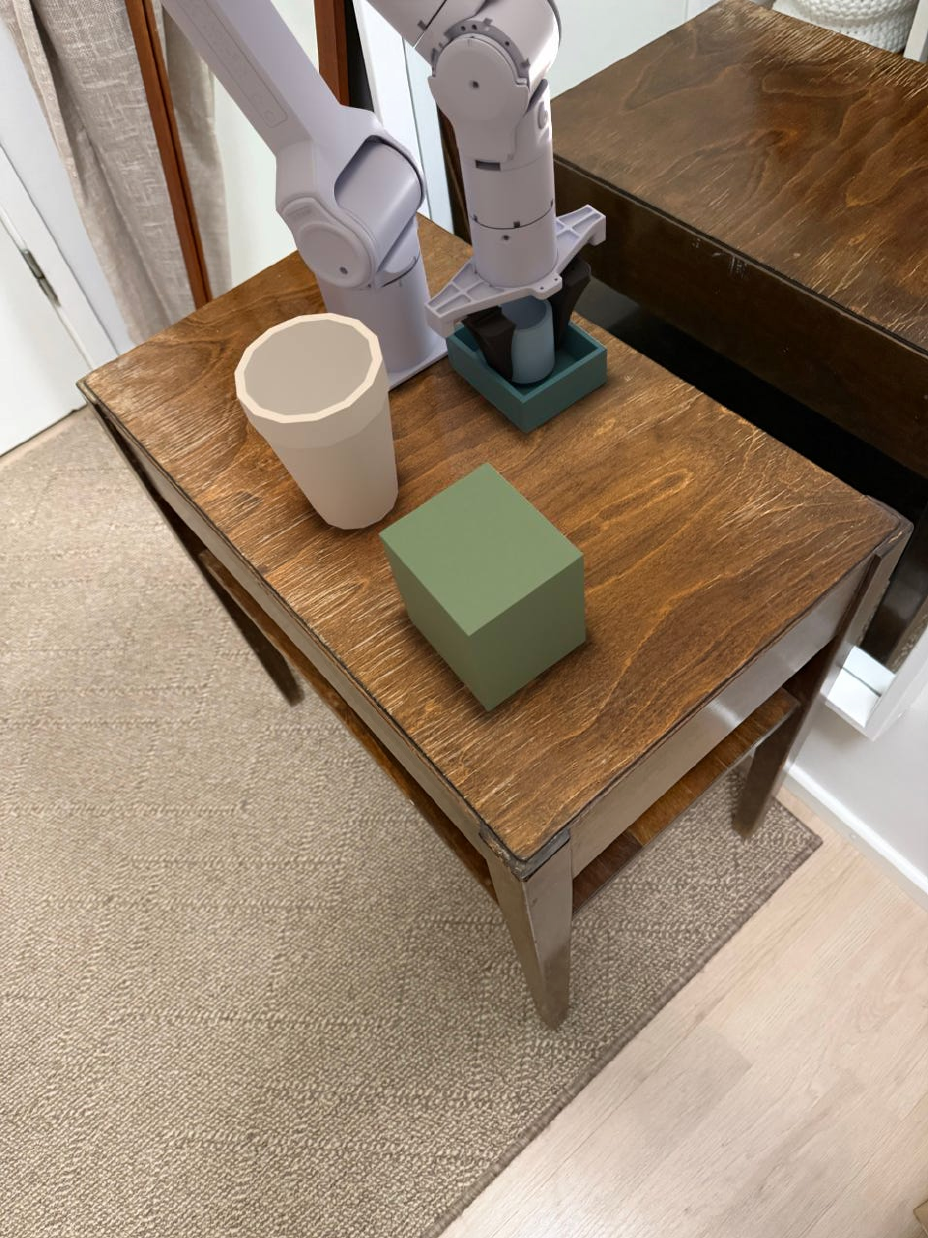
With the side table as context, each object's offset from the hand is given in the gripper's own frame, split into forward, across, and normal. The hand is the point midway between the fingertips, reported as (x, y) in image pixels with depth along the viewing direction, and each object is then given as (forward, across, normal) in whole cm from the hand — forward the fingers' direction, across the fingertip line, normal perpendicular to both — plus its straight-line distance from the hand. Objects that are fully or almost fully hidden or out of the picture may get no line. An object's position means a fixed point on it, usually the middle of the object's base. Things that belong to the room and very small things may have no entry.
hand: (525, 359), depth 69 cm
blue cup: (0, 0, 0) cm, 0 cm away
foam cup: (+2, -17, -1) cm, 17 cm away
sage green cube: (+2, -16, -17) cm, 23 cm away
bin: (+2, 0, 0) cm, 2 cm away
